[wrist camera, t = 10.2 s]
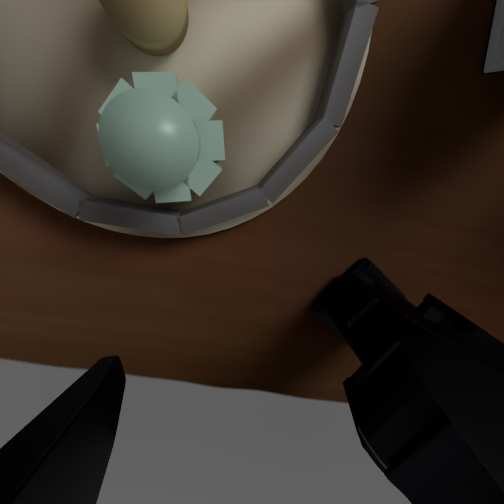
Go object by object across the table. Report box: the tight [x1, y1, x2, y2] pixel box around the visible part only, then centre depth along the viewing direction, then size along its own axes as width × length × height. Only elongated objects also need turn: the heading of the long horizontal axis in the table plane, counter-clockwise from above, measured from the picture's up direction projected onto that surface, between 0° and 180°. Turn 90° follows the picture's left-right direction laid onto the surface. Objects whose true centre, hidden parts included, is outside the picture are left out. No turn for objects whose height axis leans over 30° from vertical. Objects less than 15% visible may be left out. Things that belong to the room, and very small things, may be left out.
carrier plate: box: [0, 0, 379, 238], centre depth 12 cm, size 24×24×4 cm
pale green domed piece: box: [96, 72, 225, 203], centre depth 13 cm, size 6×6×6 cm
